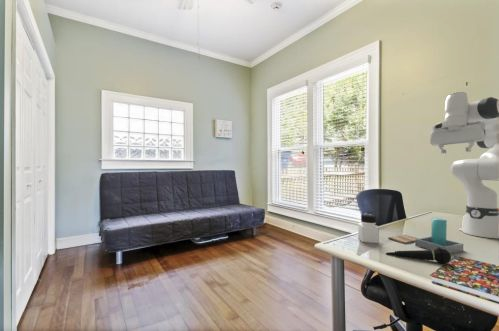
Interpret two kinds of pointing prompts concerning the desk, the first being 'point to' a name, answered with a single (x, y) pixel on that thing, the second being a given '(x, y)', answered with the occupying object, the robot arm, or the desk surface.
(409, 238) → the mat
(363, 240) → the medicine bottle
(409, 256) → the microphone
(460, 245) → the caddy
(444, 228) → the canister
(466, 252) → the desk surface
